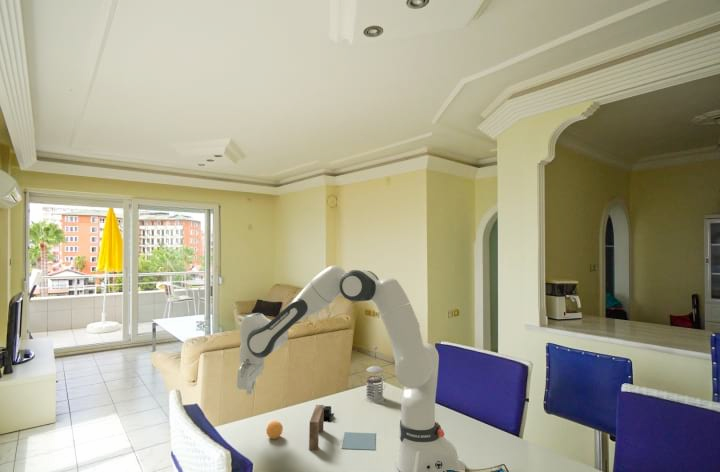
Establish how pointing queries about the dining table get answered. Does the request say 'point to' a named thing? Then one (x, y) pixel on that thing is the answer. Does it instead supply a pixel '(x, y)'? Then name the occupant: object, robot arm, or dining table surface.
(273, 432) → the ball
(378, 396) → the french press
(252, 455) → the dining table surface
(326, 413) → the black stepped block
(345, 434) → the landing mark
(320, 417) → the bridge
